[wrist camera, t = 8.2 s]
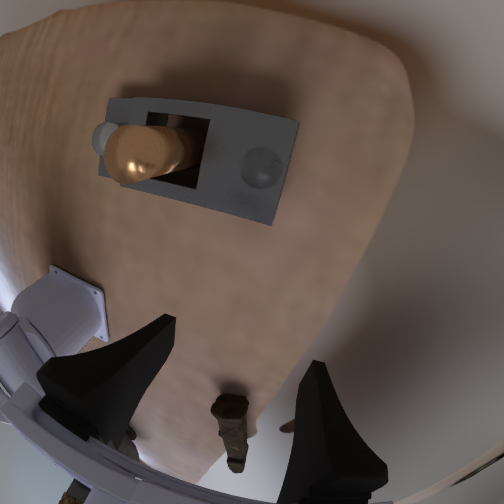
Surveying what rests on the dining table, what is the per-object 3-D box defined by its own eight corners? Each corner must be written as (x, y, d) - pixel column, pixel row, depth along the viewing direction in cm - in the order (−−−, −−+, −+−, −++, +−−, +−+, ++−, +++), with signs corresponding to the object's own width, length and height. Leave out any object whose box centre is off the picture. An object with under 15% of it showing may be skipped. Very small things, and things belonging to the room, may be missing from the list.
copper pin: (168, 163, 20) (101, 179, 12) (175, 126, 18) (107, 123, 11) (204, 170, 19) (146, 189, 12) (211, 131, 18) (155, 127, 11)
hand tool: (217, 388, 29) (205, 418, 25) (250, 394, 28) (241, 426, 24) (226, 451, 36) (219, 472, 32) (250, 455, 36) (244, 477, 31)
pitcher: (128, 413, 37) (56, 536, 10) (159, 457, 44) (113, 553, 17) (86, 396, 39) (14, 498, 12) (121, 442, 47) (72, 528, 19)
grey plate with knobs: (109, 172, 21) (86, 178, 18) (120, 99, 18) (97, 96, 15) (276, 213, 20) (271, 225, 17) (300, 125, 17) (299, 121, 14)
